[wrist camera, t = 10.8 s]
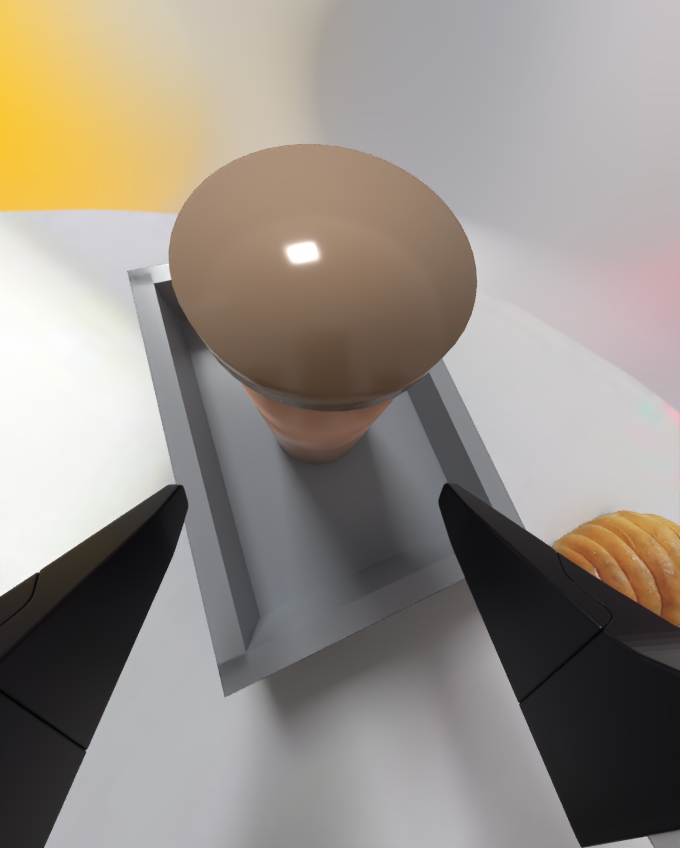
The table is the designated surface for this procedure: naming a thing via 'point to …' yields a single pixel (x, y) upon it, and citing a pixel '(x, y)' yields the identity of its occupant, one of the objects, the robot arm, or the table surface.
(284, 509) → the tray
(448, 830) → the table surface
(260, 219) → the brown tapered round piece
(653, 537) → the pastry
